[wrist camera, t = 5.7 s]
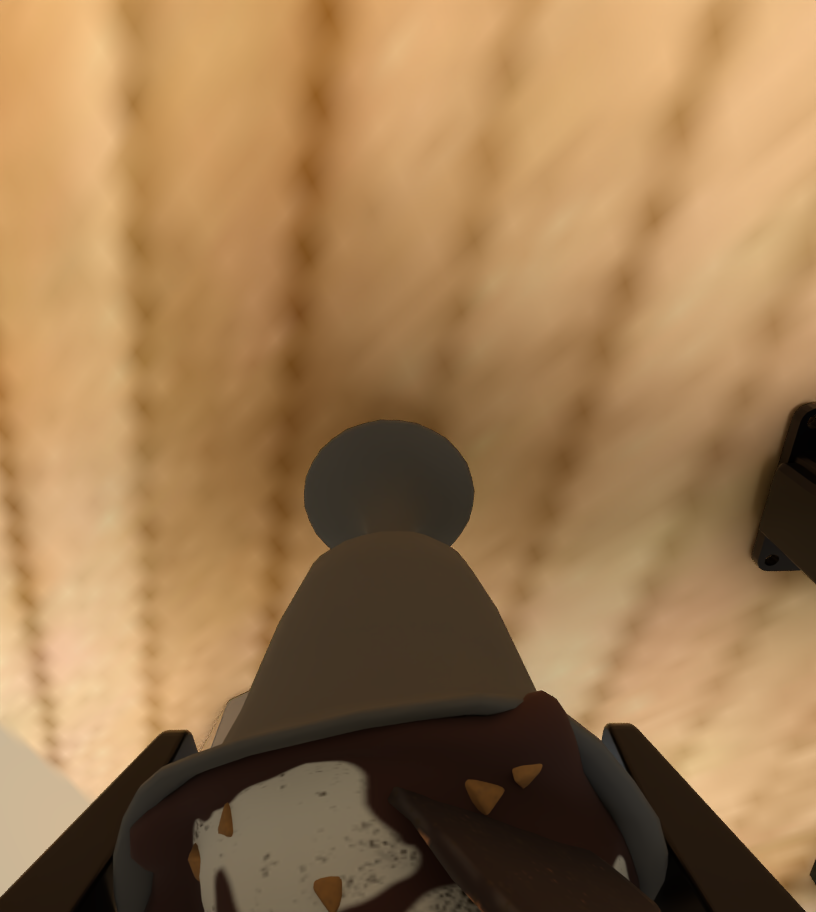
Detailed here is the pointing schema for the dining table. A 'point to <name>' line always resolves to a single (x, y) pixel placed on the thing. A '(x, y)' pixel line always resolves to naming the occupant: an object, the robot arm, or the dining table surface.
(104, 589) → the dining table surface
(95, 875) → the robot arm
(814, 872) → the wine bottle
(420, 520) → the sundae
